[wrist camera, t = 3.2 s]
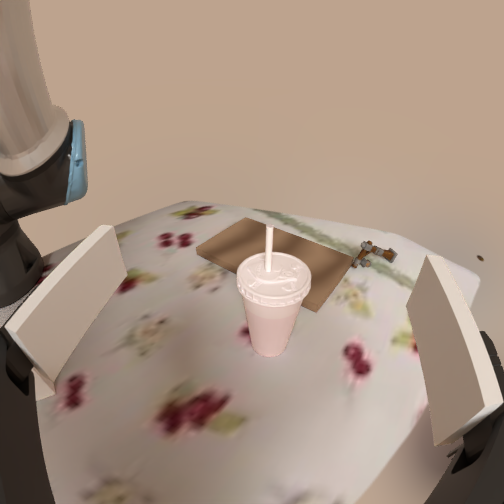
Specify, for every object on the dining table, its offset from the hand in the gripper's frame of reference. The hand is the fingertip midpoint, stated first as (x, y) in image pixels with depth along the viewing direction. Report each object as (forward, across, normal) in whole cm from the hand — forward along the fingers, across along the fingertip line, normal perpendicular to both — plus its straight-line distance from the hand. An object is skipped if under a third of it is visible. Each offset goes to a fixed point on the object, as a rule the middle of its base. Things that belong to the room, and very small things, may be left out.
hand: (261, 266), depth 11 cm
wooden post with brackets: (+27, +14, -18) cm, 35 cm away
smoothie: (+10, 0, -18) cm, 21 cm away
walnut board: (+25, -2, -18) cm, 31 cm away
